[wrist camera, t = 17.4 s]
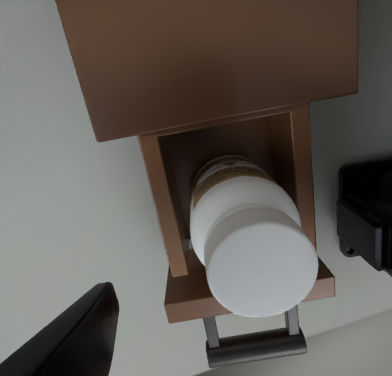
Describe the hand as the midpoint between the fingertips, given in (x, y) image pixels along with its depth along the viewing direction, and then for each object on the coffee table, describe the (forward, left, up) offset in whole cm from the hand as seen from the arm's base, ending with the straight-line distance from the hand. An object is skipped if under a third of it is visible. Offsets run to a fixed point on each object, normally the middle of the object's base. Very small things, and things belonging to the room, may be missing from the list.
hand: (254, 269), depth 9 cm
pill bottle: (0, 0, -8) cm, 8 cm away
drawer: (0, +2, -9) cm, 9 cm away
